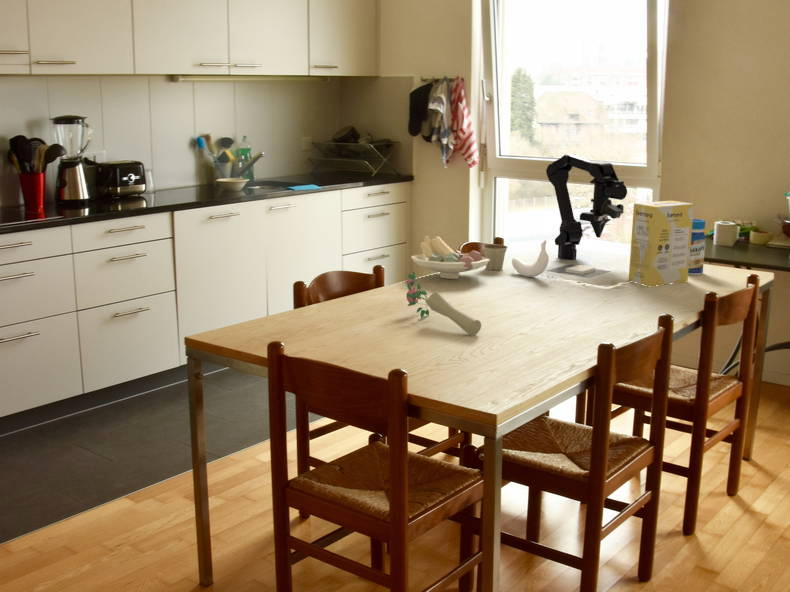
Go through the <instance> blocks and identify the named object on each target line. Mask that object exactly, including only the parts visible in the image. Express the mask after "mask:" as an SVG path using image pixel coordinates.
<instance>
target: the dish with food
mask: <svg viewBox="0 0 790 592" xmlns="http://www.w3.org/2000/svg"><path fill="white" fill-rule="evenodd" d="M423 240H424V242H422V241H421V243H420V245H419V246H420V249H421V252H422V253H420V254H415V255H411V257H410V258H411V259H412V262H413V263H415V264H416V265H418V266H421V268H424V269H426V270H428V271H433V272H437V273H438V272H439V275H440V276H439V277H440V278H442V279H451V280H452V279H459V278H460V273H465V272H470V271H473V270H474V271H475V270H478V269H480V268H483V267H486V265H487V263H488V262H489V261H490V260H489V259H487V258H485V256H482V253H481V252H479V251H477V250H471V251H470V252H468V253H460V252H456V251H455V250H453V249H452V248H451V247H450V246H449V245H448V244H447V243H446V242H445V241H444V240H443V239H442V238H441V237H440V236H438V235H435V237H434V238H432V239H431V238H430V236H428V235H425V236H424V238H423Z"/></svg>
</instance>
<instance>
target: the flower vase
mask: <svg viewBox="0 0 790 592" xmlns="http://www.w3.org/2000/svg"><path fill="white" fill-rule="evenodd" d="M407 276H408V278H407V279H406V282H405V283H406V286H407V289H408V291H406V292H407V293H406V294H405V295H406V296H405V297H406V301H407V302H408V304H407V307H411V306H415V305H417V304H418V305H421V303H419V300H421V299H422V300H425V301H424V302H425V304H424V303H423V305H425V306H424V307H417V309H416V314H418V313H419V312H420V319H423V318H424V317H425V315H427V316H429V315H430V311H429V309H428V308H427V307H429V308H430V310H432V311H434V312H435V313H438V314H440V315H442V316H445V317H446V318H448V319H450V320H451V321H452V322H454V323H455V324H456V325H458V327H460V328H461V329H462V330H463V331H464V332H465V333H466V334H467V335H469V336H471V337H473V336H476V335H477V334H479V333H480V330H481V328H482V323H481V320H479V319H476V318H474V317H473V316H471V315H469V314H467V313H465V312H464V311H462V310H459V309H458V308H457V307H455V306H454V305H453V304H451V302H449V301H448V300H447V299H446V298H444V297H443V295H441V294H440V293H439V292H438V291H437V290H434V291H433V293H431V294H430V296H429V297H427V296H428V293H427V292H426V290H423V289H422V286H423V285H422V284H421V285H420V282H418V280H417V277H416V273H415V271H414V269H413V270H412V274H409V273H408V274H407ZM415 282H417V283H415ZM413 286H416V287H417V288H416V287H415V288H412V287H413ZM423 296H424V297H425V298H424V297H423Z"/></svg>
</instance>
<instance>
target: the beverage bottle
mask: <svg viewBox="0 0 790 592" xmlns="http://www.w3.org/2000/svg"><path fill="white" fill-rule="evenodd" d="M705 229H706V220H704V219H700V218H693V223H692V235H691V246H690V258H689V270H688V276H700V275H701V276H702V274H704V263H705V253H706V251H705V250H706V248H707V246H706V241H707V237H706V234H705V232H704V230H705Z"/></svg>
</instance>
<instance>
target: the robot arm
mask: <svg viewBox="0 0 790 592" xmlns="http://www.w3.org/2000/svg"><path fill="white" fill-rule="evenodd" d="M613 166H614V165H613V164H612V163H610V162H600V161H599V162H598V161H593V160H590V159H587V158H584V157H582V156H579V155H576V154H574V153H567V154H564V155H562V156H561V157H560V158H558V159H557V160H554V161H553V162H552V163H550V164H548V165H547V167H546V169H545V171H546V172H545V174H546V176H547V178H548V181H549V182H550V183H551V185H552V186H553V188H554V193H555V196H556V202H557V205H558V209H559V215H560V219H561V222H560V226H559V234H558V235H557V236H556V237H555V238H554V244H555V246H558V248H557V257H556V258H555V260H557V259H561V260H565V261H566V260H567V261H569V260H570V261H574V260H576V259H577V252H578V251H577V246H579V245H580V244H581V243H580V242H581V239H582V237H583V232H584V230H583V227H582V222H581V221H585V222H589V224H590V226H591V227H592V229H593V232H594V234H595V236H596V238H601V236H602V233H603V230H604V228H605V226H606V224H608V223H609V222H610V221H611V220H612V219H620V218H621V216H622V214H624V209H625V208H624V205H623V204H621V203H619V204H612V202H613V201H612V199H613V200H620V201H622V200H624V199H625V198H626V197H627V194H628V189H627V187H626V185H625V184H624V183H625V182H624V181H623V180H619V177H618V176H617V175H618V174H617V173H616V170H615V169H614V167H613ZM573 168H577V169H579V170H582V171H584V172H587V173H588V174H589V175H590V176H591V177H593V179H591V180H590V182H589V183H590V184H592V185H593V184H594V185H593V198H590V202H592V209H590V210H589V211H585V212H581V213H580V214H579V221H577V220H576V219H575V216H574V211H573V207H572V203H571V202H572V201H571V198H570V193H569V188H568V181H569V178H570V175H569V172H571V171H572V169H573ZM609 217H610V218H609Z"/></svg>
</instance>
